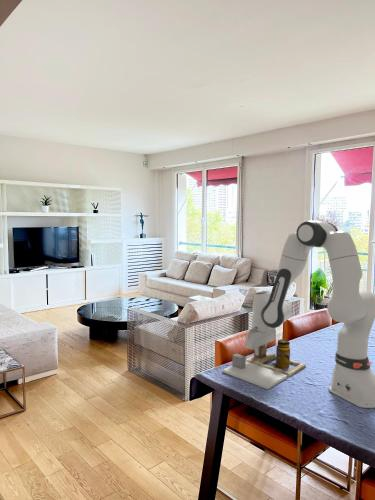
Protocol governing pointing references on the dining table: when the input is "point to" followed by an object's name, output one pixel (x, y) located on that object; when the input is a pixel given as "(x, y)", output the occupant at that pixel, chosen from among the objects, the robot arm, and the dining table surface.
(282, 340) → the condiment
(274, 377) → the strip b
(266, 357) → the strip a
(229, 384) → the dining table surface
